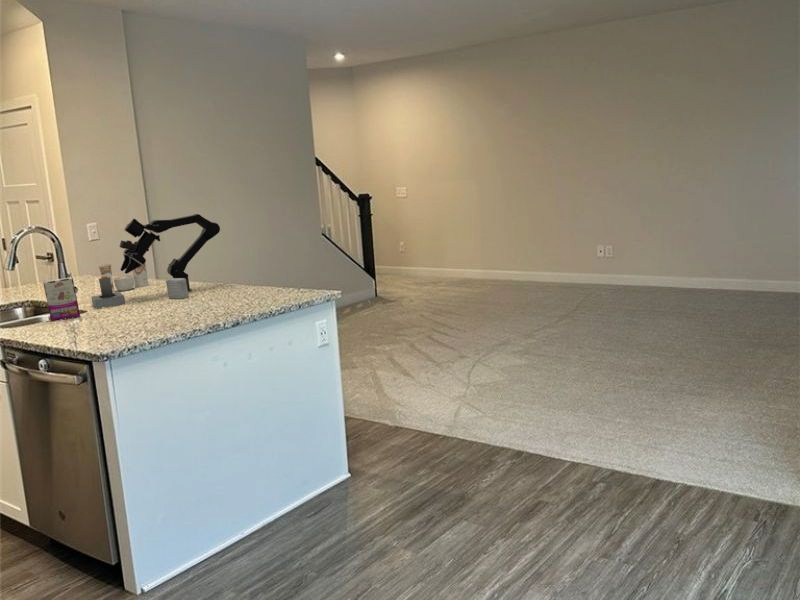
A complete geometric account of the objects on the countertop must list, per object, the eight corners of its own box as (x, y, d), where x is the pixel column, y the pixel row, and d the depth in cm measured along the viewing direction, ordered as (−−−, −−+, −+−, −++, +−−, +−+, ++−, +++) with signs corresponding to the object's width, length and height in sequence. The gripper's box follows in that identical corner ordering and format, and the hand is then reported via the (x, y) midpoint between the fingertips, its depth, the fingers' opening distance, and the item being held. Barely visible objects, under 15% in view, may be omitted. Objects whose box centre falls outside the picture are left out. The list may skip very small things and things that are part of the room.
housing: (120, 300, 317) (119, 292, 316) (125, 304, 307) (123, 295, 306) (92, 305, 311) (91, 296, 310) (96, 309, 301) (94, 300, 300)
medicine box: (189, 297, 311) (186, 278, 309) (182, 299, 307) (179, 280, 305) (175, 296, 314) (172, 278, 313) (168, 299, 310) (165, 280, 309)
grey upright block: (116, 304, 309) (111, 274, 306) (106, 306, 306) (101, 276, 303) (111, 303, 312) (106, 273, 309) (101, 305, 309) (96, 275, 306)
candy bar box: (79, 314, 291) (72, 276, 288) (80, 316, 287) (73, 277, 284) (50, 319, 286) (42, 280, 283) (50, 321, 282) (43, 282, 279)
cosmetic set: (109, 295, 334) (102, 257, 331) (98, 294, 340) (91, 257, 336) (153, 285, 354) (147, 249, 351) (142, 284, 360) (136, 249, 356)
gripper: (124, 231, 317) (103, 259, 314) (133, 235, 302) (111, 264, 299) (145, 245, 323) (124, 273, 320) (154, 249, 307) (133, 278, 305)
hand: (123, 271), depth 311 cm, fingers open, 9 cm apart
